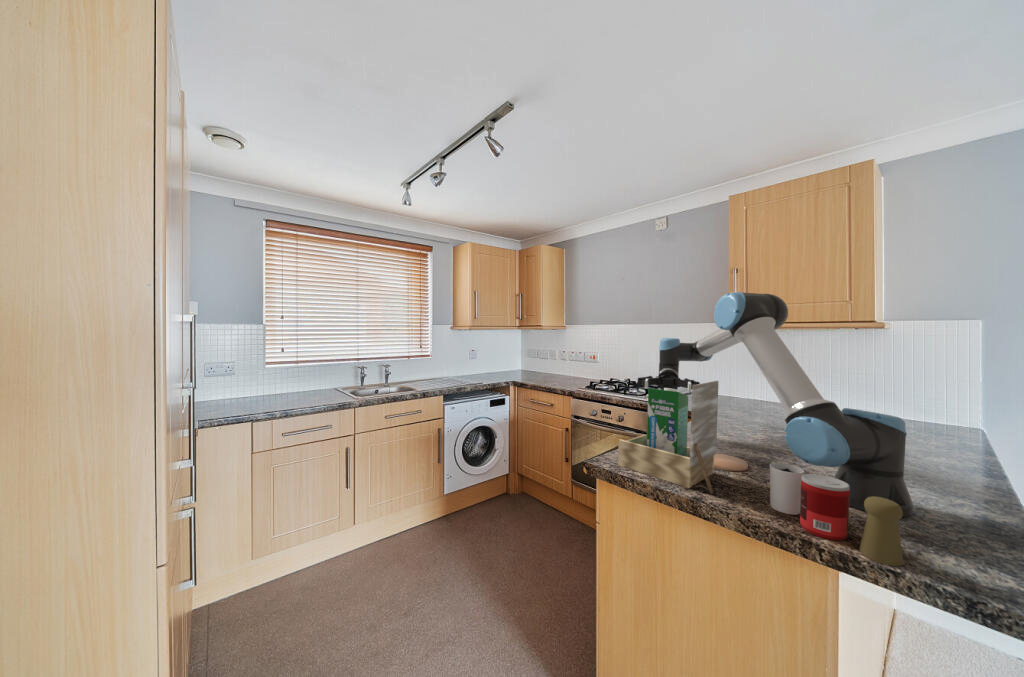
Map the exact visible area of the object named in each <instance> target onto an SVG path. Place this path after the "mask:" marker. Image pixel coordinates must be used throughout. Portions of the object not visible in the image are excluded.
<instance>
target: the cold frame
mask: <svg viewBox="0 0 1024 677" xmlns="http://www.w3.org/2000/svg"><path fill="white" fill-rule="evenodd" d="M719 383H720V382H719V380H712V381H707V382H704V383H702V382H701V383H700V384H697V385H692V390H691V408H690V409H691V412H690V413H691V416H690V443H689V444H690V447H689V446H687V457H685V456H681V455H678V454H674V453H670V452H666V451H663V450H659V449H655V448H651V447H648V446H647V434H641V435H638V436H635V437H633V438H629V439H627V440H624V439H621V438H620V439H618V445H617V446H618V450H617V455H618V456H617V466H620V467H623V468H625V469H629V470H632V471H635V472H638V473H641V474H644V475H647V476H651V477H653V478H657V479H659V480H663V481H665V480H666V482H669V483H671V482H672V483H671V484H675V485H678V486H681V487H684V488H687V489H690V488H692V487H693V485H694V486H695V485H697V484H699V482H702V481H703V480H705V483H706V486H707V489H708V492H709V494H710V495H713V494H715V492H714V490H713V486H712V484H711V480H710V477H709V476H711V475H713V474H714V470H715V468H714V455H715V454H716V453H717V441H718V440H717V438H718V436H717V435H718V412H719V411H718V408H719V407H718V406H719Z"/></svg>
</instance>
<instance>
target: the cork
mask: <svg viewBox="0 0 1024 677" xmlns="http://www.w3.org/2000/svg"><path fill="white" fill-rule="evenodd" d="M864 507H865V510H866V511H865V512H866V513H867V514H866V519H865V524H864V526H863V527H864V528H863V530H862V536H861V540H860V544H859V548H858V550H859V552H860V553H861V554H862V555H863V556H865V557H866V558H867V559H870V560H872V561H873V562H877V563H878V564H882V565H886V566H890V565H894V566H893V567H902V566H901V565H903V566H904V565H905V562H904V556H903V555H904V554H903V549H902V542H901V533H900V527H899V521H900V520H901V519H902V518H903V517H902V516H903V512H902V509H901V507H900V506H899V505H898V504H897V503H896V502H894V501H892V500H889V499H886V498H881V497H874V496H872V497H868V498H867V499H865V501H864Z"/></svg>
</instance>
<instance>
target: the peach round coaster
mask: <svg viewBox="0 0 1024 677" xmlns="http://www.w3.org/2000/svg"><path fill="white" fill-rule="evenodd" d="M714 469H717V470H722V471H727V472H743V471H744V472H745V471H747V470H748V469H749V465H748V462H747V461H745V460H744V459H742V458H739V457H737V456H733V455H729V454H724V453H717V452H716V454H715V455H714Z"/></svg>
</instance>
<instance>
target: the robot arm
mask: <svg viewBox="0 0 1024 677" xmlns="http://www.w3.org/2000/svg"><path fill="white" fill-rule="evenodd" d="M788 316H789V308H788V304H787V303H786V302H785V301H784V300H783V299H782V298H781V297H780V296H777V295H775V294H772V293H771V294H770V293H755V292H753V293H752V292H741V291H736V292H728V293H726V294H724V295H722V296H721V297H720V298H719V299H718V300H717V303H716V305H715V307H714V311H713V318H714V319H713V320H714V324H716V327H717V328H719V329H717V330H716V331H713V332H711V333H710V334H708V335H706V336H704V337H703V338H700V339H698V340H697V341H695V342H681V341H680V338H676V337H674V338H671V337H663V338H662V337H661V339H660V342H659V363H658V376H655V377H653V376H652V375H648V376H643V377H642V376H641V377H638V378H637V385H638V386H640V385H641V386H642V388H644V389H646V390H647V389H648V388H649V386H656V387H657V386H658V387H661V388H662V390H664V388H671V389H675V388H682V389H683V388H684V389H687V392H688V393H692V385H697V384H701V383H700V381H697V380H695V379H689V378H683V379H681V378H680V377H679V374H680V373H679V372H680V371H679V370H680V369H679V368H680V362H706V361H710V360H711V359H712V357H713V356H714V355H715V354H717V353H720V352H721V351H722V352H723V351H724V350H726V349H728V348H731V347H733V346H735V345H737V344H739V343H743V345H744V346H745V348H746V349H747V351H748V352H749V354H750V355H751V357H752V359H753V360H754V362H755V363H756V365H757V366H758V368H759V370H760V371H761V373H762V374H763V377H765V378H764V379H766V381H767V382H768V384H769V386H770V387H771V388H772V390H773V392H774V393H775V395H776V397H777V399H778V400H779V401H780V403H781V405H782V406H783V408H784V409H785V411H786V414H785V418H784V422H785V423H786V426H785V428H784V432H785V434H784V439H785V442H786V444H787V446H788V448H789V449H790V451H791V452H792V453H793V455H795V456H796V457H797V458H798V459H800V460H801V461H803V462H804V463H806V464H808V465H811V466H816V467H827V468H829V467H830V468H836V467H838V468H837V470H836V472H835V474H834V476H833V478H836V479H839V480H841V481H844V482H845V483H847V484H848V485H849V486H850V487H849V488H850V500H849V507H851V508H854V509H857V510H861V511H865V512H866V510H865V507H864V501H865V499H867V498H868V497H872V496H874V497H881V498H886V499H889V500H892V501H894V502H896V503H897V504H898V505H899V506H900V507H901V509H902V512H903V516H902V518H905V517H907V518H908V517H911V516H912V515H913V514H914V502H913V500H912V498H911V495H910V492H909V490H908V488H907V484H906V482H905V478H904V476H905V460H906V459H905V457H906V438H907V433H908V432H907V431H906V429H907V428H906V422H905V420H904V419H902V418H901V417H899V416H894V415H890V414H884V413H879V412H875V411H869V410H862V409H855V408H849V407H845V408H842V410H841V409H840V407H839V406H838V405H837V403H836V402H834V401H831V400H827V399H824V397H823V396H822V394H821V393H820V391H818V389H817V388H816V386H815V385H814V384H813V382H812V380H811V379H810V378H809V376H808V375H807V374H806V372H805V371H804V369H803V367H802V366H801V365H800V364H799V363H798V361H797V360H796V358H795V356H794V355H793V353H792V352H791V351H790V349H789V348H788V346H786V344H785V342H784V341H783V340H782V339H781V337H780V336H779V334H778V333H777V331H776V330H778V329H779V328H781V327H782V326H783V325H785V323H786V321H787V319H788V318H789V317H788Z"/></svg>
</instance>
